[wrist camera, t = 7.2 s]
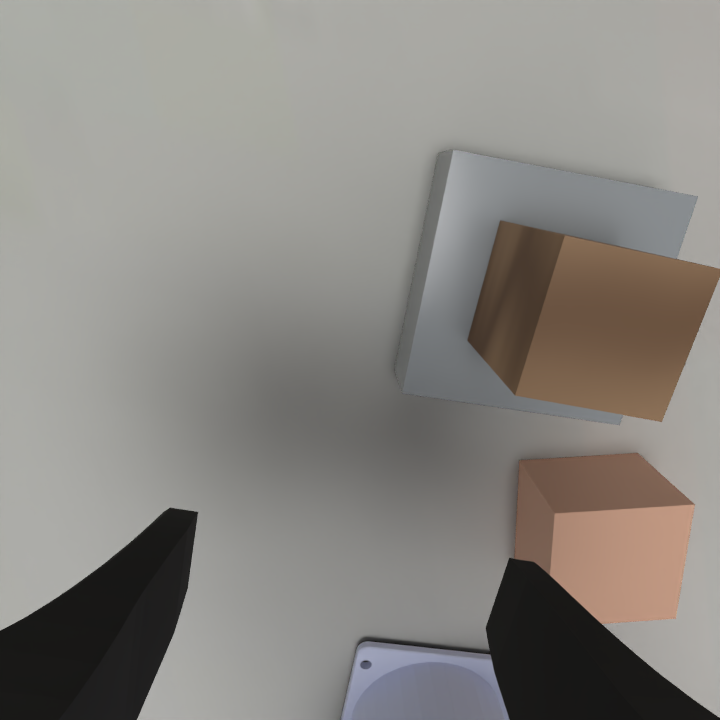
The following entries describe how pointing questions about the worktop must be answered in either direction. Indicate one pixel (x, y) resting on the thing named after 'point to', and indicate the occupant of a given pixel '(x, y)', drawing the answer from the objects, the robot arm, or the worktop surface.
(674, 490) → the terracotta block
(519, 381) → the walnut block
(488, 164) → the slate slab
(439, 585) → the worktop surface
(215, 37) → the worktop surface
